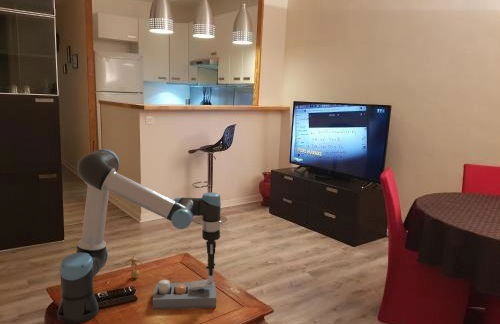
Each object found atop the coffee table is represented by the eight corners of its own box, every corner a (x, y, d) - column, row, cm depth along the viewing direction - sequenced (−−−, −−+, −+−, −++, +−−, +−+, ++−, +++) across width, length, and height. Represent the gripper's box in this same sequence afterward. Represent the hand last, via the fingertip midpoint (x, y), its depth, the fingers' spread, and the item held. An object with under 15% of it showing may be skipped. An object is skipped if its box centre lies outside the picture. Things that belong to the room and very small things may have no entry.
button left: (158, 294, 168) (158, 285, 167) (159, 289, 172) (159, 279, 171) (169, 294, 168) (169, 284, 167) (170, 289, 173) (170, 279, 172)
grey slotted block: (152, 309, 164) (152, 296, 163) (156, 292, 177) (156, 280, 176) (216, 307, 167) (216, 295, 166) (214, 291, 181) (215, 279, 180)
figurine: (144, 276, 192) (144, 252, 190) (141, 282, 187) (141, 258, 184) (127, 275, 192) (126, 252, 190) (124, 281, 186) (123, 257, 184)
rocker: (191, 291, 169) (190, 288, 168) (191, 284, 174) (191, 281, 174) (212, 288, 169) (212, 284, 169) (212, 281, 175) (211, 278, 175)
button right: (174, 299, 169) (175, 289, 168) (175, 293, 173) (175, 284, 173) (185, 299, 170) (186, 289, 169) (186, 293, 174) (186, 284, 173)
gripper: (220, 234, 162) (220, 288, 166) (219, 224, 175) (218, 274, 179) (202, 234, 161) (202, 288, 165) (202, 224, 174) (201, 274, 178)
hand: (210, 281), depth 172 cm, fingers closed
